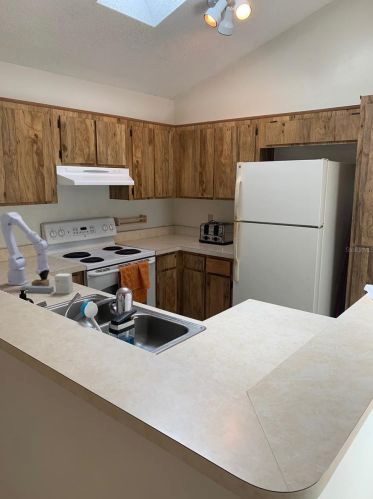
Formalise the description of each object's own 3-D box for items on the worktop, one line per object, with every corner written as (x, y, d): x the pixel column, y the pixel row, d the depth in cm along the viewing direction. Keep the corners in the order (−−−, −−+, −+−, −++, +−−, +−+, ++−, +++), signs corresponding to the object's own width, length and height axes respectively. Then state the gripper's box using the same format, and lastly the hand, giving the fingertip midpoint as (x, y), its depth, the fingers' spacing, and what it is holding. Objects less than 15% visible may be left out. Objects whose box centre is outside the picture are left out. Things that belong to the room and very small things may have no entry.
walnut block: (32, 288, 224) (31, 282, 223) (36, 285, 230) (35, 279, 229) (45, 288, 224) (44, 282, 223) (49, 285, 230) (48, 279, 229)
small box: (73, 291, 218) (72, 273, 216) (69, 294, 213) (68, 275, 211) (60, 290, 219) (58, 273, 217) (55, 293, 214) (54, 275, 211)
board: (21, 292, 217) (20, 287, 216) (24, 290, 220) (23, 285, 219) (51, 293, 215) (50, 288, 214) (53, 291, 218) (53, 286, 217)
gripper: (43, 263, 221) (45, 285, 224) (54, 258, 235) (55, 279, 238) (31, 263, 222) (33, 285, 224) (43, 258, 236) (45, 279, 239)
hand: (44, 282), depth 231 cm, fingers closed
